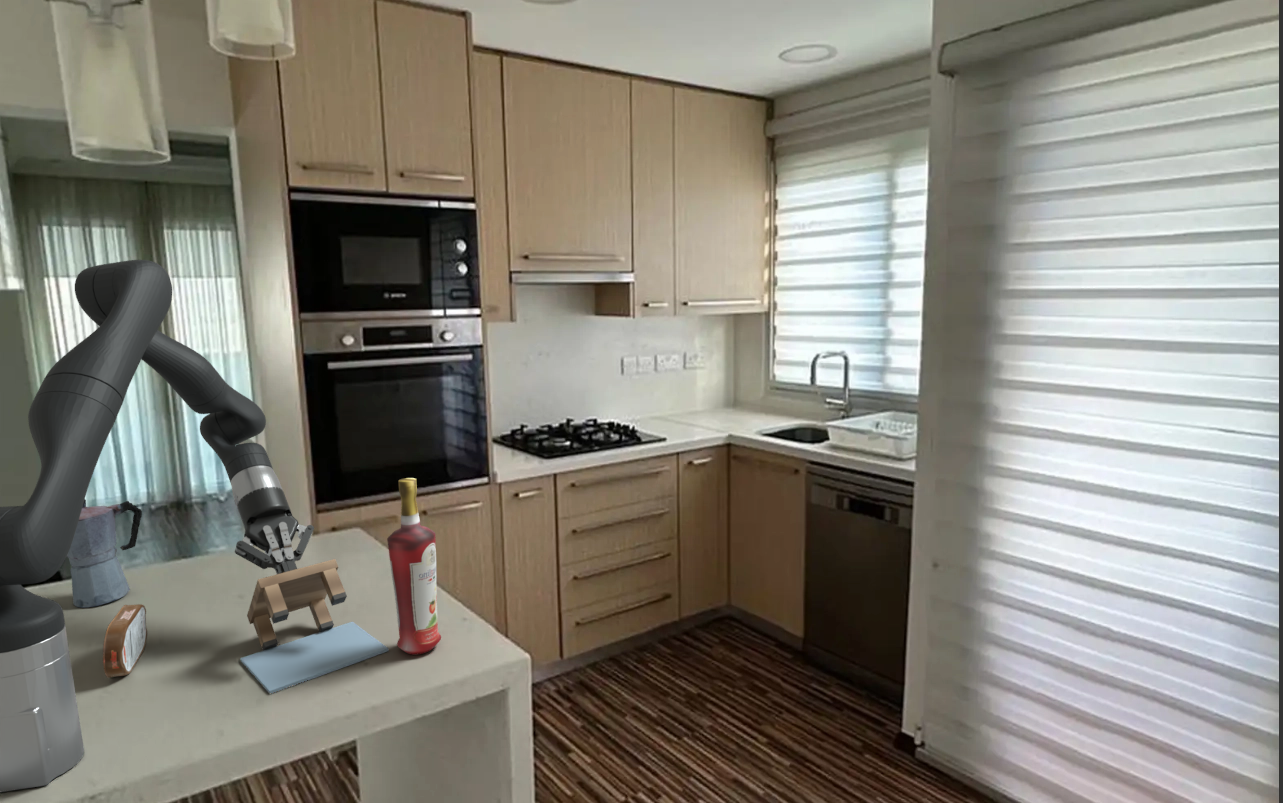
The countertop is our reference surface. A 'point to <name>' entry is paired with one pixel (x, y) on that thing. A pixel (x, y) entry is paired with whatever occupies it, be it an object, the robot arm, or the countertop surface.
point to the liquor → (414, 576)
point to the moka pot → (99, 555)
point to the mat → (312, 656)
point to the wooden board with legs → (295, 598)
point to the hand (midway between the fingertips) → (291, 583)
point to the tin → (124, 640)
